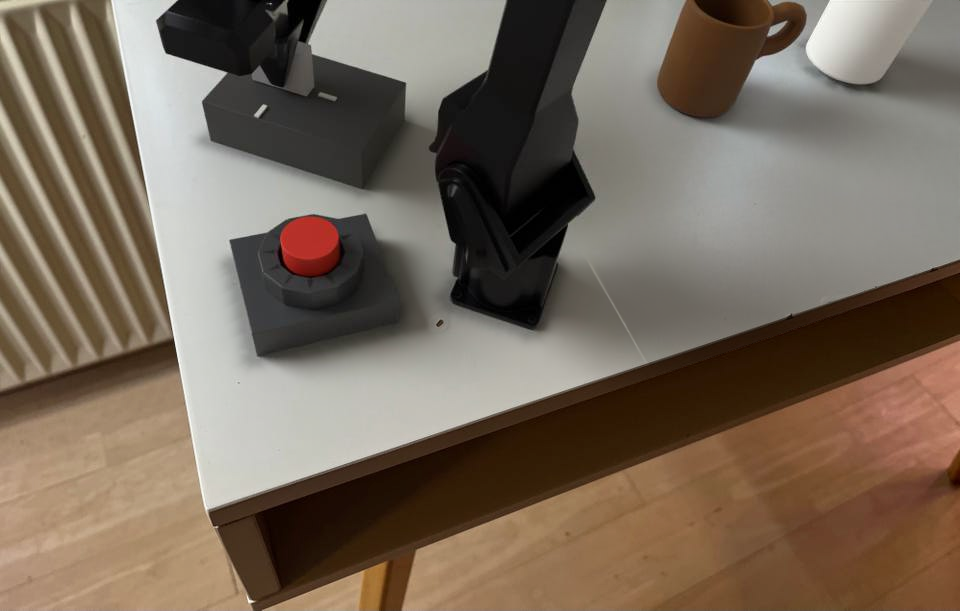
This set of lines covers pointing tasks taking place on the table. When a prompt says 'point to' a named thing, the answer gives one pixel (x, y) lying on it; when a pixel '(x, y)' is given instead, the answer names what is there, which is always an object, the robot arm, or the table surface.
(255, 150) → the slider switch box
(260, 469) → the table surface
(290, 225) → the stop button
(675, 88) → the mug
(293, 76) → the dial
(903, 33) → the beverage can
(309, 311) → the push button box
